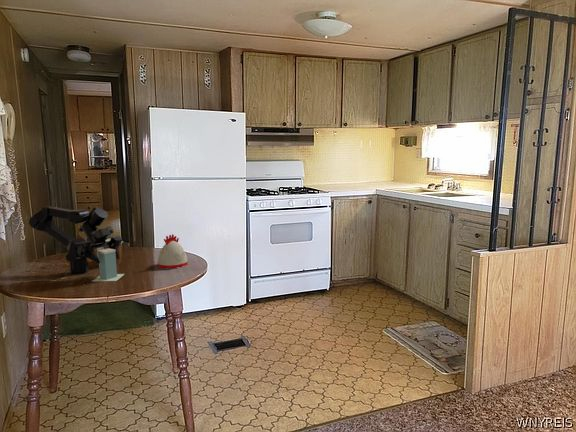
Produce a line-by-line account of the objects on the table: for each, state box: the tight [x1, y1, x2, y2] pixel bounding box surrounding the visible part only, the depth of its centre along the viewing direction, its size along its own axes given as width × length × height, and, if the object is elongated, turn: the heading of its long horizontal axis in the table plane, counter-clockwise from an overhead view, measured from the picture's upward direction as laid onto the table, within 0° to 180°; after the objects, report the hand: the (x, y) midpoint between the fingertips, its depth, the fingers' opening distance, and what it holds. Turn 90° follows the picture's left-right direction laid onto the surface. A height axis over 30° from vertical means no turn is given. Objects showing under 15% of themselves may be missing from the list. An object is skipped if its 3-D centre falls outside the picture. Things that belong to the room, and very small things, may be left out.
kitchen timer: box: [157, 234, 189, 269], centre depth 202 cm, size 14×14×15 cm
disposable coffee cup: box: [104, 238, 124, 265], centre depth 206 cm, size 10×10×12 cm
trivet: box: [91, 273, 125, 282], centre depth 183 cm, size 10×10×1 cm
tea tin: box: [97, 248, 118, 280], centre depth 182 cm, size 5×5×12 cm
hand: (109, 260), depth 181 cm, fingers open, 9 cm apart
